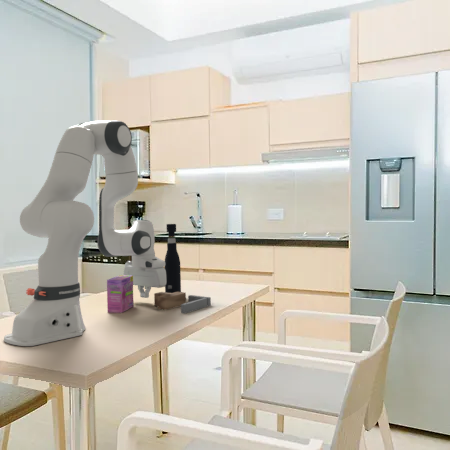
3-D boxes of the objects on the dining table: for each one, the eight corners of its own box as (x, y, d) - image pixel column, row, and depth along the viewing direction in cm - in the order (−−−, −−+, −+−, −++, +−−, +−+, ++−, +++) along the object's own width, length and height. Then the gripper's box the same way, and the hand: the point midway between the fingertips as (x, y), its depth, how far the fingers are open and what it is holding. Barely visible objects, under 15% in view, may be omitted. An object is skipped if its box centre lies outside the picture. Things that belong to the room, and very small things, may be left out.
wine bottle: (179, 295, 187) (177, 223, 186) (182, 298, 181) (180, 223, 180) (164, 296, 185) (161, 224, 184) (167, 299, 179) (164, 224, 178)
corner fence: (184, 313, 154) (184, 304, 154) (164, 310, 160) (163, 302, 160) (210, 305, 167) (210, 297, 167) (190, 302, 172) (190, 295, 172)
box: (122, 313, 158) (121, 279, 157) (107, 312, 159) (106, 279, 158) (134, 306, 168) (133, 275, 167) (119, 306, 169) (118, 275, 168)
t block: (147, 307, 166) (147, 295, 166) (168, 301, 175) (167, 290, 175) (165, 310, 161) (165, 297, 161) (185, 304, 170) (185, 292, 170)
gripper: (119, 261, 177) (120, 296, 178) (157, 263, 166) (158, 301, 166) (130, 259, 182) (131, 293, 183) (168, 262, 171) (169, 298, 171)
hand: (144, 297), depth 174 cm, fingers closed
